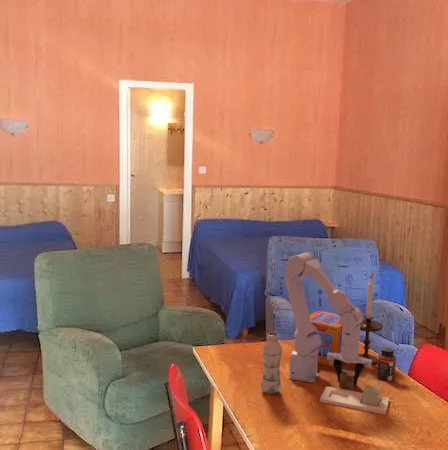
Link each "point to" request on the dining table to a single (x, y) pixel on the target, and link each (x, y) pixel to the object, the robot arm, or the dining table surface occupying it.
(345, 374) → the walnut block
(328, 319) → the game box
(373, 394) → the sage block
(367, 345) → the candlestick
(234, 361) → the dining table surface
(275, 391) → the plastic bottle
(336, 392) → the base board
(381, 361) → the supplement bottle
